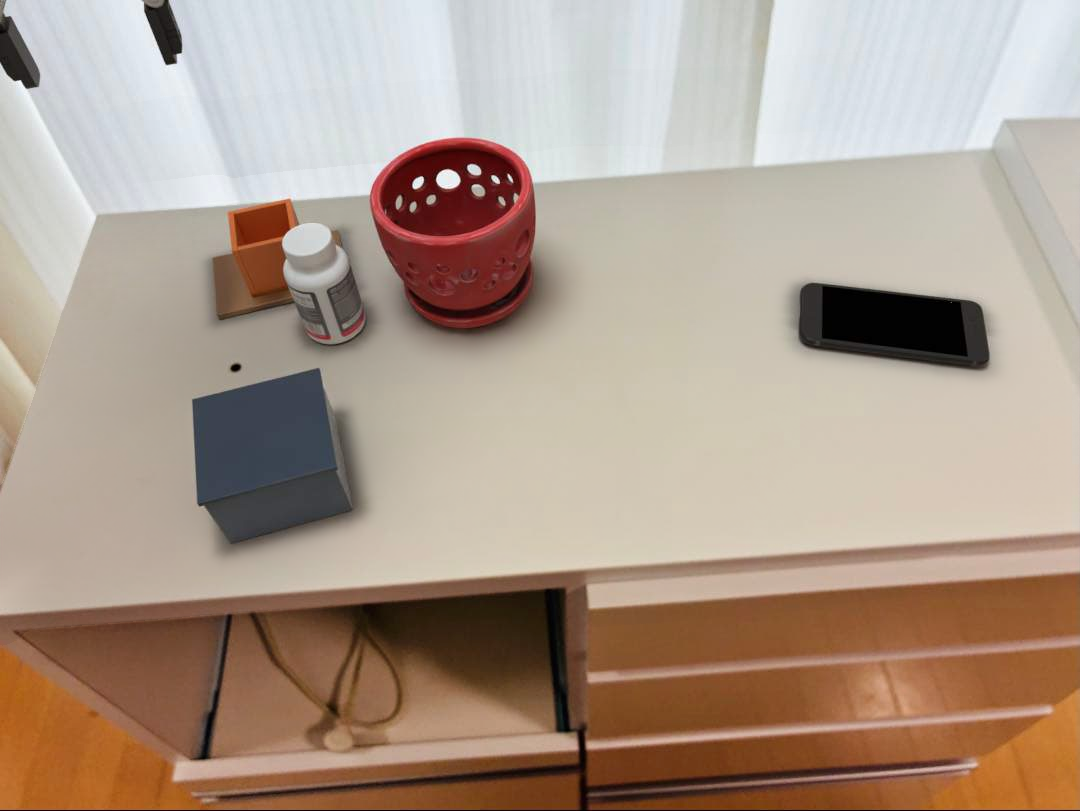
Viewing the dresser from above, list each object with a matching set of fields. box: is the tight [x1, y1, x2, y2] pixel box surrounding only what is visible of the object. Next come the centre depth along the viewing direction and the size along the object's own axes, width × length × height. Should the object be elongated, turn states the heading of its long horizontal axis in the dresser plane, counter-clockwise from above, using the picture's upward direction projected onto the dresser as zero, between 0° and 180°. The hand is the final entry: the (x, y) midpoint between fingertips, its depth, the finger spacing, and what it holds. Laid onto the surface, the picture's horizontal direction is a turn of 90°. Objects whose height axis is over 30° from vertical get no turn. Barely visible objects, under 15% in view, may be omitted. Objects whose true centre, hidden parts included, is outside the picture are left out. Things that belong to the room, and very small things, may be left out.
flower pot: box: [369, 137, 537, 329], centre depth 70 cm, size 13×13×12 cm
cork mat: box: [211, 229, 343, 320], centre depth 77 cm, size 12×8×1 cm, turn 107°
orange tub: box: [227, 198, 300, 297], centre depth 74 cm, size 6×6×6 cm
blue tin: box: [191, 367, 354, 544], centre depth 61 cm, size 9×9×6 cm
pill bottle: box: [282, 222, 367, 345], centre depth 69 cm, size 5×5×10 cm
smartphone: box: [798, 282, 991, 367], centre depth 69 cm, size 7×15×1 cm, turn 78°
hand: (104, 70), depth 53 cm, fingers open, 8 cm apart
